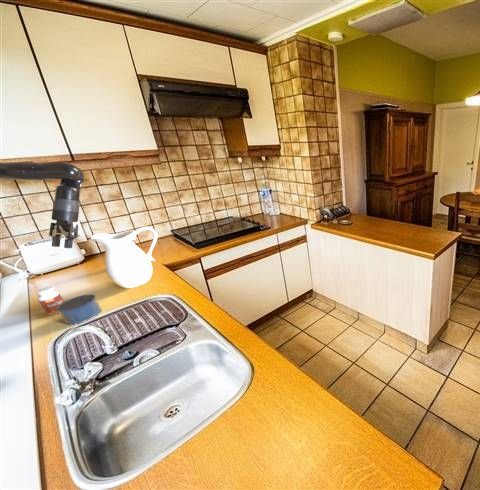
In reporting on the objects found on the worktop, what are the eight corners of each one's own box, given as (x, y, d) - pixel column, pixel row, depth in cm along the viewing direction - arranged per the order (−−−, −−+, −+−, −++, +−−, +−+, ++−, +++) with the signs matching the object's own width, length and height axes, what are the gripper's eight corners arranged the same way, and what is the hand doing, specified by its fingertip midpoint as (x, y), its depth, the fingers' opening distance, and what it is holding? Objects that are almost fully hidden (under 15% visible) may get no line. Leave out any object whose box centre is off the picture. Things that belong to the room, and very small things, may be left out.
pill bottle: (52, 316, 113) (38, 294, 109) (44, 314, 115) (29, 292, 110) (71, 307, 119) (58, 286, 114) (62, 305, 120) (49, 284, 116)
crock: (62, 329, 105) (53, 315, 102) (67, 315, 113) (59, 302, 110) (101, 316, 111) (93, 302, 109) (104, 304, 120) (96, 291, 117)
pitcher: (115, 296, 126) (87, 242, 114) (115, 282, 137) (90, 232, 126) (174, 277, 140) (155, 228, 128) (170, 266, 151) (151, 220, 140)
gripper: (43, 208, 113) (39, 245, 112) (64, 209, 109) (59, 248, 108) (67, 211, 120) (63, 246, 119) (88, 212, 116) (83, 249, 115)
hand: (61, 247), depth 114 cm, fingers open, 8 cm apart
